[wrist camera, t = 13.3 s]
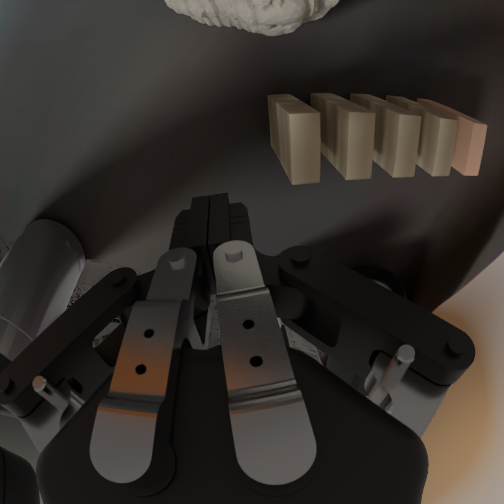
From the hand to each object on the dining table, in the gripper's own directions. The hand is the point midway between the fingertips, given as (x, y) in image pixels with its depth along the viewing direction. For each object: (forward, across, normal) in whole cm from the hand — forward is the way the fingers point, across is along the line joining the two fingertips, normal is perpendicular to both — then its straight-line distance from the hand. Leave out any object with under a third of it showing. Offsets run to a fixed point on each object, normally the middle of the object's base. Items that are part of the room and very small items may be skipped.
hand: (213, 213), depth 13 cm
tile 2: (+16, -10, 0) cm, 19 cm away
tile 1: (+16, -6, 0) cm, 17 cm away
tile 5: (+16, -22, 0) cm, 27 cm away
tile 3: (+16, -14, 0) cm, 21 cm away
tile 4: (+16, -18, 0) cm, 24 cm away
